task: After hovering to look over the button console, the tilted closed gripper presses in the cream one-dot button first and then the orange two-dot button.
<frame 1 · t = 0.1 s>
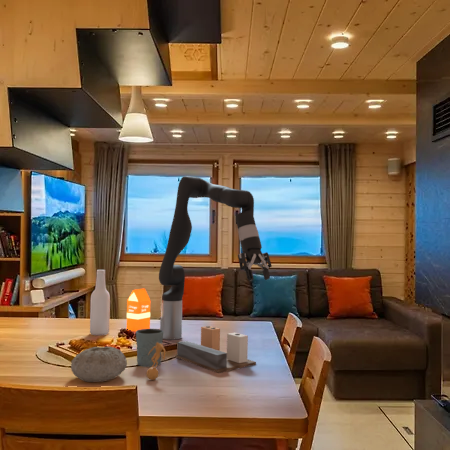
hand: (259, 279, 181), 31 cm above the table, tool tilted 20°, fingers open, 8 cm apart
alcohol: (99, 334, 229), on the table
blue-grey cup: (149, 364, 179), on the table
console: (214, 361, 184), on the table
orange juice: (138, 330, 241), on the table
grey rounded rock: (99, 379, 160), on the table
beverage can: (168, 325, 254), on the table
two dot button: (210, 339, 193), point 6 cm above the table, slide at 0.0 cm
one dot button: (237, 347, 181), point 6 cm above the table, slide at 0.0 cm
figurine: (154, 379, 160), on the table
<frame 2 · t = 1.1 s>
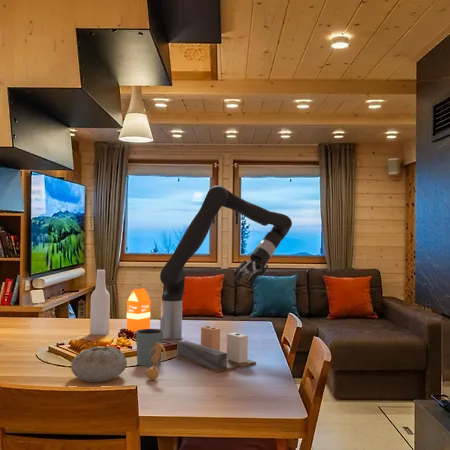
hand: (242, 281, 200), 29 cm above the table, tool tilted 45°, fingers open, 8 cm apart
nothing on the table moved.
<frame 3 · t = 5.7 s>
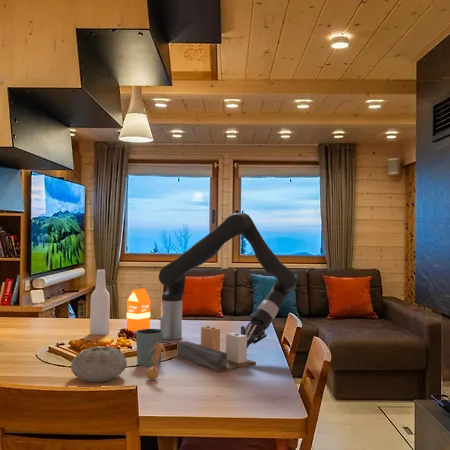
hand: (241, 350, 182), 5 cm above the table, tool tilted 45°, fingers closed
one dot button: (236, 347, 180), point 6 cm above the table, slide at 0.4 cm, touching gripper
everything else where it was.
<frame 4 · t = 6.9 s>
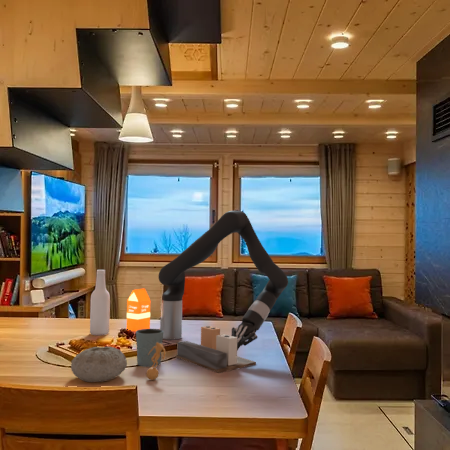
hand: (231, 351, 179), 5 cm above the table, tool tilted 45°, fingers closed
one dot button: (226, 349, 177), point 6 cm above the table, slide at 5.2 cm, touching gripper
everything else where it was.
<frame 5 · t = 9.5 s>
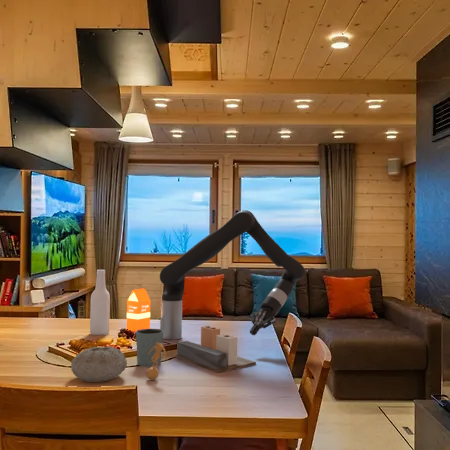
hand: (251, 333, 196), 8 cm above the table, tool tilted 45°, fingers closed
one dot button: (226, 349, 177), point 6 cm above the table, slide at 5.2 cm
everything else where it was.
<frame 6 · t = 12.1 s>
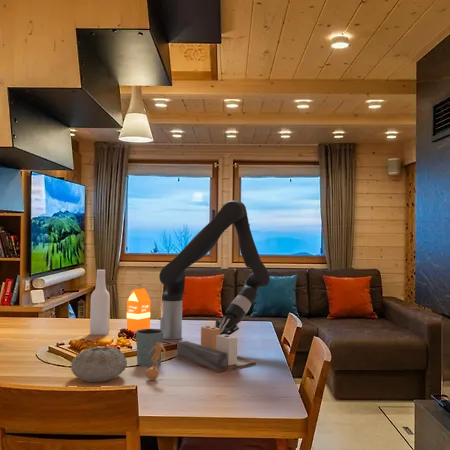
hand: (215, 341, 195), 5 cm above the table, tool tilted 45°, fingers closed
two dot button: (210, 339, 193), point 6 cm above the table, slide at 0.0 cm, touching gripper
everything else where it was.
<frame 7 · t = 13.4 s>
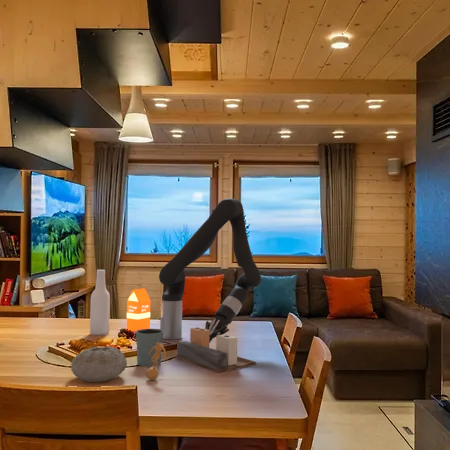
hand: (204, 343, 191), 5 cm above the table, tool tilted 45°, fingers closed
two dot button: (199, 341, 190), point 6 cm above the table, slide at 5.3 cm, touching gripper
everything else where it was.
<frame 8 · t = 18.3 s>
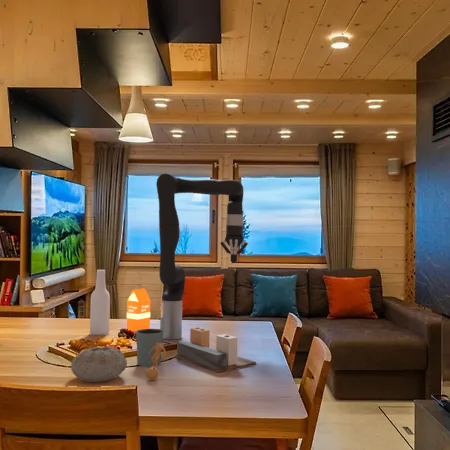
hand: (233, 262, 221), 35 cm above the table, tool pointing down, fingers closed
two dot button: (199, 341, 190), point 6 cm above the table, slide at 5.3 cm
everything else where it was.
at the end: one dot button slide at 5.2 cm; two dot button slide at 5.3 cm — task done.
